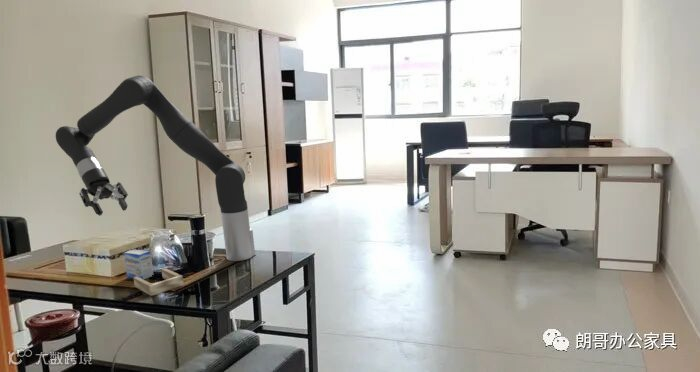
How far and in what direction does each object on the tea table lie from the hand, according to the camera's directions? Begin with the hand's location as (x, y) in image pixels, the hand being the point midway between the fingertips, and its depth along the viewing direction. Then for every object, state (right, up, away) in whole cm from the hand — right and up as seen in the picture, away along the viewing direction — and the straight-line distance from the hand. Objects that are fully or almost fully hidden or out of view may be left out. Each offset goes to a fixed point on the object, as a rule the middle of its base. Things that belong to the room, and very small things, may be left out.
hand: (113, 211), depth 176 cm
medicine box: (+9, -22, -1) cm, 24 cm away
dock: (+19, -23, -11) cm, 32 cm away
